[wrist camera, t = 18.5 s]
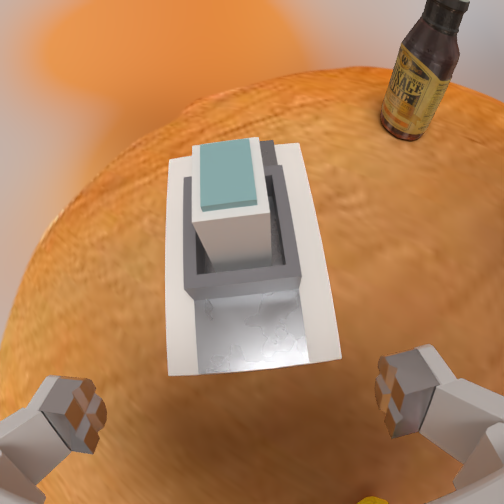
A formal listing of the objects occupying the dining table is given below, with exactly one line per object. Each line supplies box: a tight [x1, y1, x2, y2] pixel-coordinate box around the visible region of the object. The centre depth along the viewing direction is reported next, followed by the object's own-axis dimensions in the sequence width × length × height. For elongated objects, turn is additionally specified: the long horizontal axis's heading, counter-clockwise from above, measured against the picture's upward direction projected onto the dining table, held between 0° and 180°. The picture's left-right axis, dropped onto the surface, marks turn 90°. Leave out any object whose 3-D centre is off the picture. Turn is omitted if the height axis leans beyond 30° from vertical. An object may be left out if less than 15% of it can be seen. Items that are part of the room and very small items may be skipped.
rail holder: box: [165, 140, 342, 376], centre depth 27 cm, size 14×22×5 cm, turn 6°
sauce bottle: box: [381, 0, 470, 140], centre depth 25 cm, size 6×6×20 cm
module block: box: [192, 137, 272, 273], centre depth 23 cm, size 4×6×10 cm
